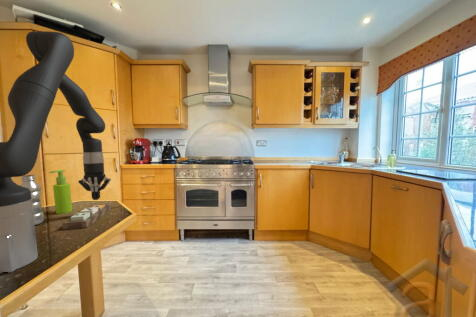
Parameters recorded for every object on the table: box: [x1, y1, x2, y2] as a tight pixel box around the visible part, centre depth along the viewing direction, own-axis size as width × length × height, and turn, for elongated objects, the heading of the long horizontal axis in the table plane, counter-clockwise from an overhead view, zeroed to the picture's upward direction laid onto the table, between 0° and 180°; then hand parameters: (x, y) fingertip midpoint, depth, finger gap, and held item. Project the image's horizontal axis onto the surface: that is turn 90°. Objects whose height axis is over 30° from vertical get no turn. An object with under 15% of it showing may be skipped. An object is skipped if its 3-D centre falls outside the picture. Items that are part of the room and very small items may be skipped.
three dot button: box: [79, 207, 98, 214], centre depth 87 cm, size 4×4×3 cm
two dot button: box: [70, 212, 90, 221], centre depth 81 cm, size 4×4×3 cm
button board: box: [62, 204, 112, 230], centre depth 88 cm, size 21×8×2 cm, turn 10°
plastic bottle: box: [20, 174, 45, 226], centre depth 81 cm, size 6×7×20 cm
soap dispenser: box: [49, 169, 73, 215], centre depth 95 cm, size 6×7×20 cm
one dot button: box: [90, 204, 106, 209], centre depth 94 cm, size 4×4×3 cm
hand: (96, 199), depth 93 cm, fingers closed
